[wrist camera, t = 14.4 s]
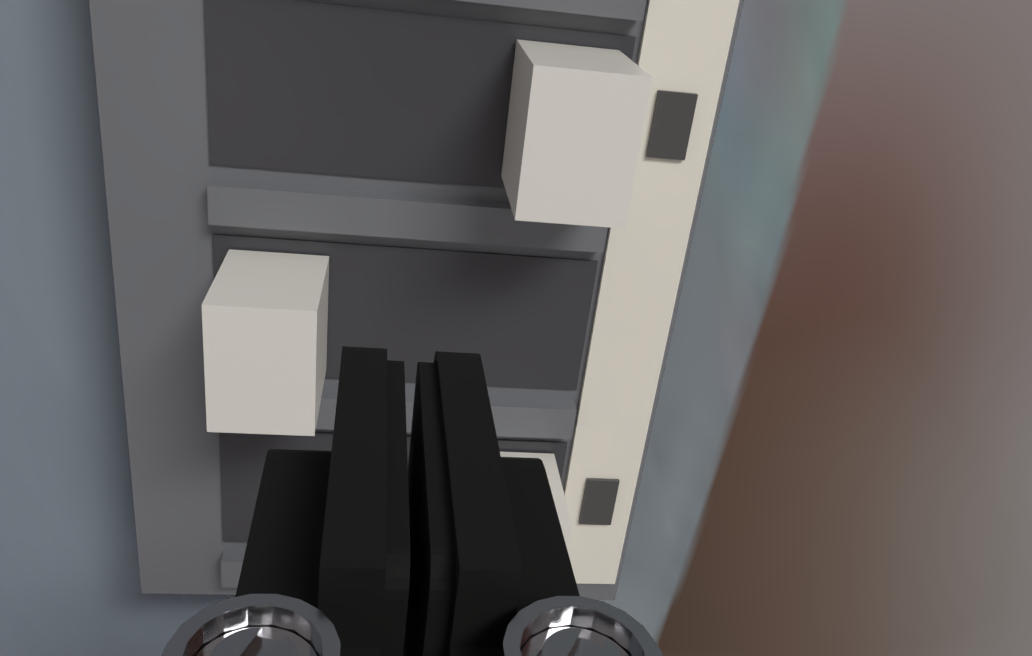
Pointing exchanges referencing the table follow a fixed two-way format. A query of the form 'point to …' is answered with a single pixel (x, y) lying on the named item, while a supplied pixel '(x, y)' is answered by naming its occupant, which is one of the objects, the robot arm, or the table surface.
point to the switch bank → (390, 235)
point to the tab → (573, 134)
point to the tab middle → (266, 343)
